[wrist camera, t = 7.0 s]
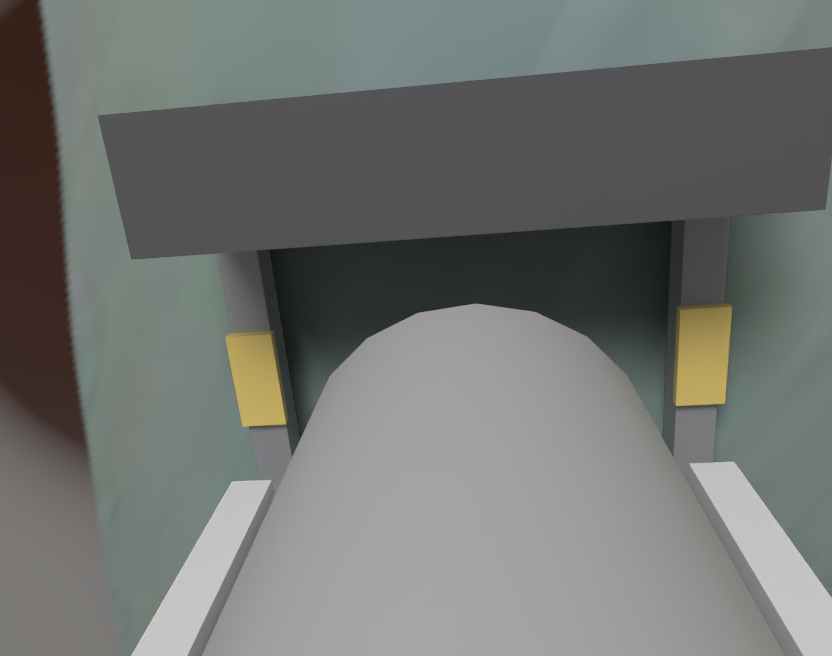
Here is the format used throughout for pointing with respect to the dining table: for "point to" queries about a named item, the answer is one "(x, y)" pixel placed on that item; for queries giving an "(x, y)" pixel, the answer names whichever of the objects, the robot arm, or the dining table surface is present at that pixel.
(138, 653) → the robot arm
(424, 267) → the dining table surface
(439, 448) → the can
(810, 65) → the guide channel
